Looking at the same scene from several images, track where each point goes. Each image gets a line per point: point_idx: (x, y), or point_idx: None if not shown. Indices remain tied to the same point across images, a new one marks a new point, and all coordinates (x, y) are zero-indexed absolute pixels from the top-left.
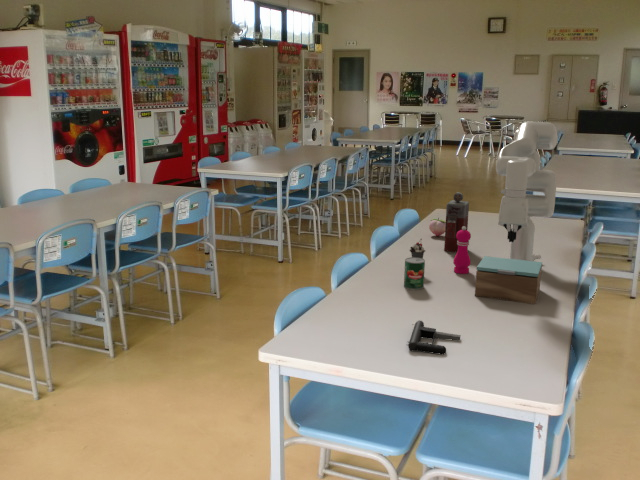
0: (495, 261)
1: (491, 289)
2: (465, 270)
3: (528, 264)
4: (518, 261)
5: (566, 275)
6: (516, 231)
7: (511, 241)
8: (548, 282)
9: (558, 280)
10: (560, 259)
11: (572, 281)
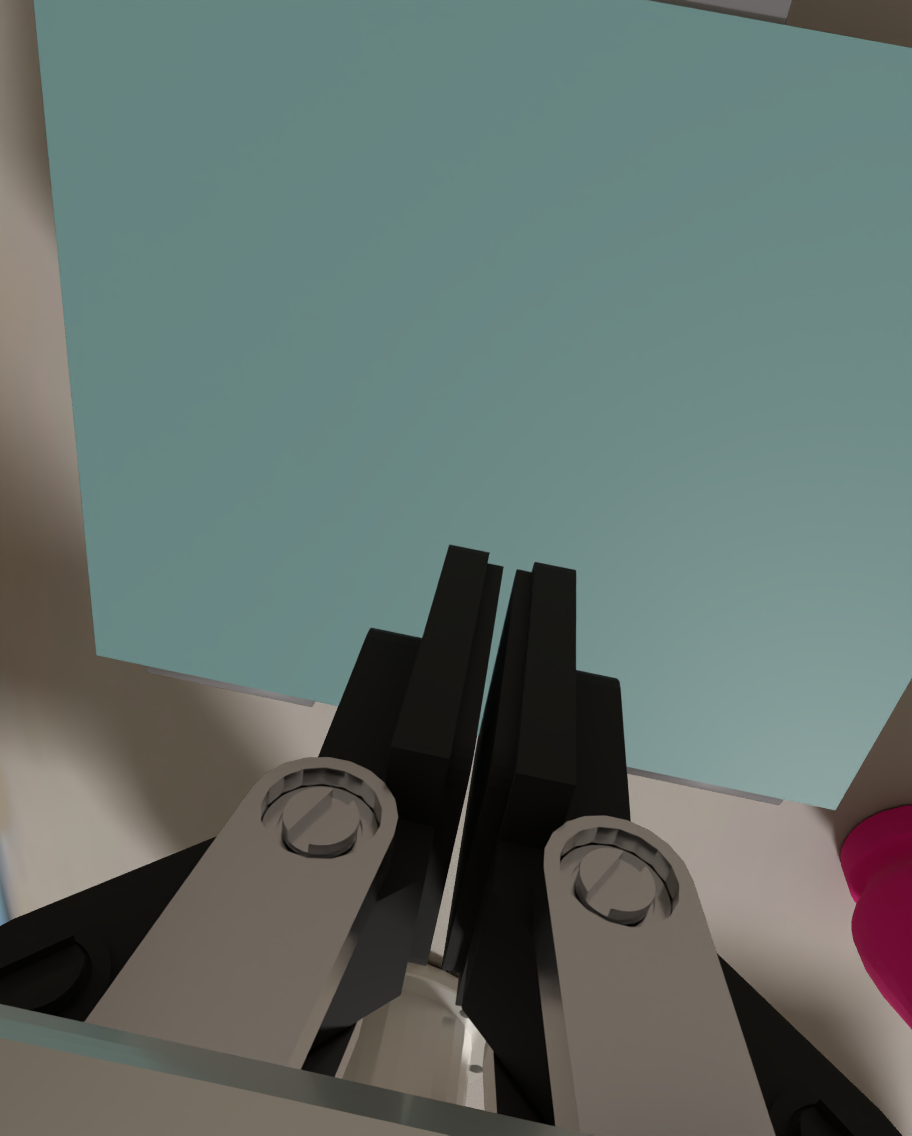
0: (732, 577)
1: None
2: (897, 833)
3: (249, 513)
4: None
5: (73, 849)
6: (275, 778)
7: (498, 566)
8: (177, 692)
9: (110, 745)
10: None
11: (11, 737)
